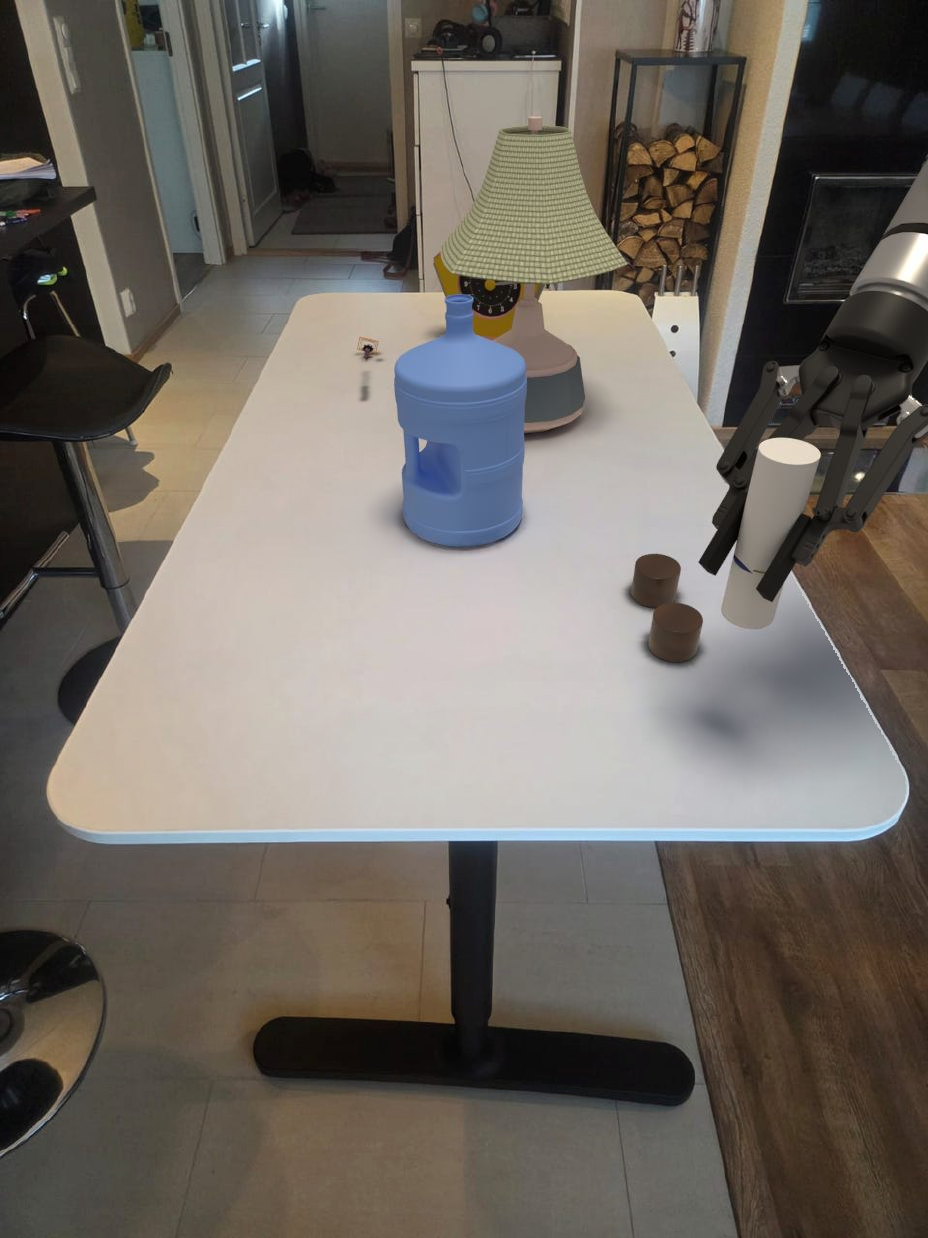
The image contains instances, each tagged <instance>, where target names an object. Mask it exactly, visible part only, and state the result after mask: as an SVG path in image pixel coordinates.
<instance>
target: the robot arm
mask: <svg viewBox="0 0 928 1238" xmlns="http://www.w3.org/2000/svg"><path fill="white" fill-rule="evenodd" d="M927 362H928V154H927V155H926V157H925V160H924V162H923V163H922V164H921V168H920V170H919V173H918V174H917V176H916V178H915V180H914V181H913V182H912V185H911V186H910V188H909V190H908V191H907V193H906V195H905V197H904V198H903V200H902V202H901V204H900V205H899V207H898V209H897V211H896V212H895V214H894V216H893V217H892V219H891V220H890V223H889V225H887V228H886V230H885V231H884V233H883V235H882V236H881V239H880V240H879V242H878V243H877V245H876V247H875V248H874V250H873V251H872V254H871V255H870V257H869V258H868V260H867V261H866V263H865V265H864V266H863V268H862V270H861V271H860V273H859V274H858V276H857V277H856V279H855V281H854V282H853V284H852V286H851V288H850V291H849V296H848V297H846V298H845V299H844V300H843V302H842V303H841V305H840V307H839V309H838V310H837V312H836V314H835V315H834V317H833V319H832V320H831V322H830V324H829V325H828V327H827V329H826V330H825V332H824V333H823V336H822V338H821V340H820V342H819V344H818V346H817V348H816V349H815V350H814V351H813V352H812V353H811V354H810V355H809V356H807V357H806V358H805V359H803V360H802V362H801V363H800V364H799V365H797V364H796V365H784V366H780V365H779V363H778V362H777V361H775V360H769V361H768V362H766V363H765V364H764V365H763V367H762V371H761V379H760V383H759V388H758V390H757V391H756V393H755V395H754V397H753V399H752V401H751V403H750V404H749V406H748V408H747V409H746V411H745V413H744V415H743V417H742V419H741V420H740V422H739V423H738V426H737V427H736V429H735V430H734V432H733V434H732V436H731V438H730V440H729V441H728V443H727V444H726V447H725V448H724V450H723V451H722V454H721V456H720V458H719V459H718V461H717V463H716V464H715V465H716V466H715V467H716V469H715V470H716V471H717V472H718V474H719V475H720V477H721V478H722V480H723V481H724V483H725V484H727V485H728V490H727V492H726V494H725V496H724V497H723V499H722V501H721V502H720V504H719V506H718V507H717V509H716V511H715V513H714V514H713V515H712V520H711V524H712V525H713V526H714V528H715V529H716V531H715V533H714V535H713V536H712V538H711V539H710V542H709V543H708V545H707V547H706V548H705V550H704V551H703V554H702V555H701V557H700V558H699V560H698V562H697V563H698V564H699V565H700V566H701V567H702V568H703V569H704V570H705V572H706V573H709V574H711V575H712V576H715V577H716V575H717V574H718V572H719V571H720V569H721V568H722V566H723V565H724V562H725V561H726V559H727V558H728V556H729V554H730V552H732V549H733V548H734V546H735V545H736V542H737V538H738V534H739V529H740V525H741V521H742V516H743V512H744V508H745V504H746V499H747V495H748V491H749V486H750V482H751V478H752V473H753V469H754V465H755V461H756V456H757V452H758V449H756V448H757V446H759V445H758V444H760V442H761V440H762V438H763V436H764V434H765V432H766V431H767V429H768V427H769V425H770V423H771V422H772V420H773V418H774V416H775V415H776V413H777V411H778V409H779V407H780V404H781V402H782V398H783V397H787V396H788V395H789V393H790V392H791V390H792V387H793V386H794V385H795V384H798V383H799V385H800V393H801V396H800V397H799V398H798V400H797V401H796V402H795V403H794V404H793V405H792V406H791V408H790V409H789V414H788V415H787V416H786V417H785V419H783V421H782V422H781V423H780V424H779V425H778V426H777V427H776V429H775V430H774V431H773V432H772V433H771V434H770V435H769V437H767V439H766V440H768V439H772V438H791V439H797V440H801V441H804V439H805V438H806V437H808V436H810V435H812V434H813V433H814V432H815V431H816V430H817V429H818V428H819V427H820V426H822V427H833V428H835V429H837V430H838V431H839V435H838V437H837V441H836V444H835V446H834V449H833V453H832V456H831V459H830V462H829V465H828V468H827V471H826V474H825V477H824V480H823V483H822V486H821V489H820V492H819V495H818V499H817V501H816V505H815V506H814V507H812V513H813V516H812V517H811V516H810V515H808V514H805V513H804V514H802V513H801V514H800V516H799V517H798V519H797V521H796V522H795V524H794V526H793V527H792V529H791V531H790V532H789V534H788V536H787V537H786V539H785V541H784V542H783V544H782V546H781V547H780V549H779V551H778V552H777V554H776V556H775V557H774V559H773V561H772V562H771V564H770V566H769V567H768V569H767V571H766V572H765V574H764V576H763V577H762V579H761V581H760V582H759V584H758V586H757V587H756V590H757V591H758V592H759V593H760V595H761V596H762V597H763V598H764V599H766V600H768V601H770V602H773V600H774V599H775V597H776V595H777V594H778V592H779V590H780V589H781V587H782V585H783V584H785V582H786V580H787V578H788V577H789V575H790V574H791V573H792V570H793V569H794V567H795V565H796V564H797V565H800V566H802V567H804V568H805V567H807V566H809V565H810V563H812V562H813V560H814V559H815V557H816V555H817V554H818V552H819V550H820V548H821V547H822V545H823V544H824V542H825V540H826V539H827V537H828V536H829V534H830V533H831V532H833V531H837V530H845V531H846V530H847V531H849V532H852V533H858V532H860V531H861V530H862V529H863V528H864V527H865V525H866V524H867V522H868V520H869V519H870V517H871V516H872V514H873V513H874V511H875V509H876V508H877V506H878V505H879V503H880V502H881V500H882V498H883V497H884V495H885V493H886V492H887V490H888V489H889V487H890V486H891V484H892V483H893V481H894V479H895V478H896V476H897V475H898V473H899V472H900V470H901V469H902V467H903V466H904V464H905V462H906V461H907V459H908V457H909V456H910V454H911V453H912V451H913V449H914V448H915V447H916V446H917V445H919V444H920V443H921V442H922V441H924V440H925V439H926V438H927V437H928V403H924V404H922V403H921V402H920V401H918V400H917V399H916V398H915V397H913V386H914V383H915V382H916V380H917V378H918V377H919V375H920V374H921V371H922V370H923V368H924V367H925V365H926V363H927ZM899 412H900V413H899ZM897 413H899V415H898V416H897V417H896V427H895V428H894V429H893V431H892V432H891V434H890V435H889V437H888V438H887V440H886V441H885V443H884V444H883V446H882V448H881V450H880V451H879V452H878V454H877V456H876V457H875V459H874V460H873V462H872V464H871V466H870V467H869V468H868V470H867V472H866V473H865V475H864V476H863V478H862V480H861V481H860V482H859V484H858V486H857V488H856V489H855V491H854V492H853V494H852V495H851V496H850V499H849V500H848V502H847V503H846V505H845V507H843V503H844V501H845V498H846V495H847V492H848V489H849V485H850V483H851V479H852V477H853V473H854V470H855V467H856V464H857V461H858V458H859V455H860V452H861V450H862V449H863V447H864V445H865V442H866V440H867V439H866V438H867V435H868V433H869V429H870V428H871V427H873V426H875V425H876V424H878V423H880V422H882V421H884V420H886V419H888V418H890V417H891V416H893V415H895V414H897ZM755 450H756V451H755ZM783 586H784V585H783Z"/></svg>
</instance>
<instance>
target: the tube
mask: <svg viewBox="0 0 928 1238" xmlns="http://www.w3.org/2000/svg"><path fill="white" fill-rule="evenodd" d="M767 439H768V438H767ZM767 439H765V440H763V441H762V442H761V441H760V443H759V445H758V448H757V450H758V452H757V456H756V461H755V465H754V469H753V473H752V478H751V482H750V486H749V491H748V495H747V499H746V504H745V508H744V512H743V516H742V521H741V525H740V529H739V534H738V538H737V541H736V542H735V547H734V552H733V555H732V559H731V565H730V569H729V573H728V578H727V581H726V586H725V590H724V595H723V599H722V604H721V607H720V611H721V615H722V617H723V618H724V619H725V620H726V621H727V622H729V623H730V624H732V625H734V626H737V627H739V628H742V629H748V630H761V629H765V628H767V627H769V626H770V625H772V624H773V622H774V619H775V616H776V612H777V609H778V606H779V602H780V598H781V596H782V591H783V588H784V584H785V583H784V584H783V585H782V587H781V589H780V590H779V592H778V594H777V595H776V597H775V599H774V600H773V602H770V601H768V600H766V599H764V598H763V597H762V596H761V595H760V593H759V592H758V591H757V590H756V587H757V586H758V584H759V582H760V581H761V579H762V577H763V576H764V574H765V572H766V571H767V569H768V567H769V566H770V564H771V562H772V561H773V559H774V557H775V556H776V554H777V552H778V551H779V549H780V547H781V546H782V544H783V542H784V541H785V539H786V537H787V536H788V534H789V532H790V531H791V529H792V527H793V526H794V524H795V522H796V521H797V519H798V517H799V516H800V514H801V513H802V514H805V512H806V507H807V504H808V501H809V497H810V495H811V491H812V488H813V484H814V480H815V477H816V473H817V469H818V466H819V463H820V460H821V457H822V454H821V452H820V450H819V449H818V448H817V447H816V446H815V445H813V444H811V443H810V442H807V441H804V440H802V441H801V440H797V439H791V438H772V439H768V440H767Z"/></svg>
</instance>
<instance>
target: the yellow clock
mask: <svg viewBox="0 0 928 1238" xmlns="http://www.w3.org/2000/svg"><path fill="white" fill-rule="evenodd" d="M432 265H433V267H434V271H435V272H436V275H437V278H438V282H439V284H440V286H441V289H442V291H443V294H444V298H446V297H447V296H450V295H456V294H464V295H469V296H472V297H473V303H472V312H473V314H474V318H473V331H474V333H475V334H476V335H478V336H481V337H483V338H486V339H489V340H491V341H493V340H494V339H496V338H498V337H499V336H501V335H503V334H504V333H506V332H508V331H509V330H511V329H512V324H513V319H514V313H515V307H516V304H517V303H518V302H521V298H523V297H524V284H523V283H512V282H502V281H493V280H485V279H477V278H471V277H465V276H459V275H454V274H452V273H451V272H450V271H449V270H448V269H447V268H446V267H445V265H444V263H443V261H442V258H441V250H440V251H439V252H437V254H436V255H434V256H433V263H432ZM545 285H546V284H535V298H537V302H540V298H541V296H542V294H543V291H544V289H545Z"/></svg>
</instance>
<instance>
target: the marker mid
mask: <svg viewBox="0 0 928 1238" xmlns="http://www.w3.org/2000/svg"><path fill="white" fill-rule="evenodd" d="M703 623H704V618H703V615H702V614H701V613H700V611H698V609H696V608H695V607H693V606H691V605H689V604H685V603H682V602H673V603H666V604H662V605H660V606H658V607H657V608H654V610H653V613H652V619H651V624H650V629H649V636H648V644H647V645H648V646H647V647H648V649H649V651H650V652H651V653H652V654H653V656H655V657H657V658H658V659H661V660H662V661H666V662H672V663H682V662H683V663H684V662H686V661H687V662H688V661H689V660H691V659H692V658H694V657H695V655H696V654H697V652H698V647H699V644H700V643H699V642H700V638H701V633H702V628H703Z"/></svg>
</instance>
